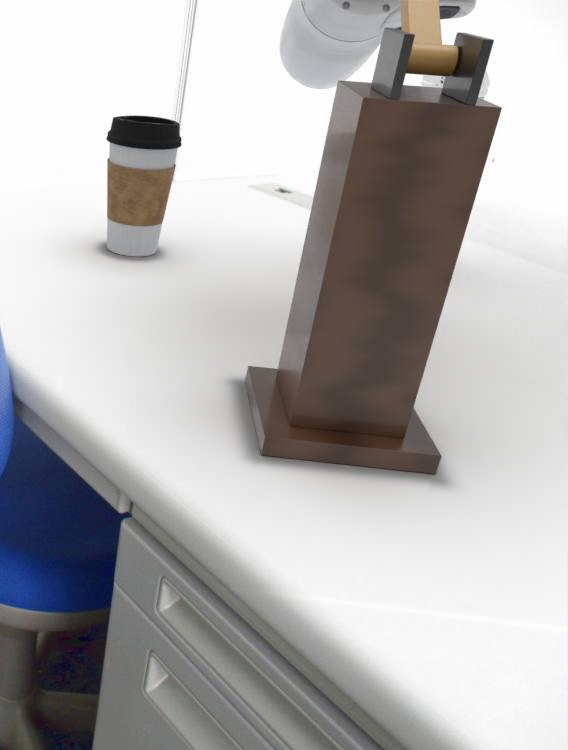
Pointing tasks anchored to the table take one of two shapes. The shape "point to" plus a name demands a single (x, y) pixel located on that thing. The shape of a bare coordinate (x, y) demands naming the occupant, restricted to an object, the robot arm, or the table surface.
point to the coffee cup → (139, 181)
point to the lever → (427, 39)
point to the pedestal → (377, 264)
